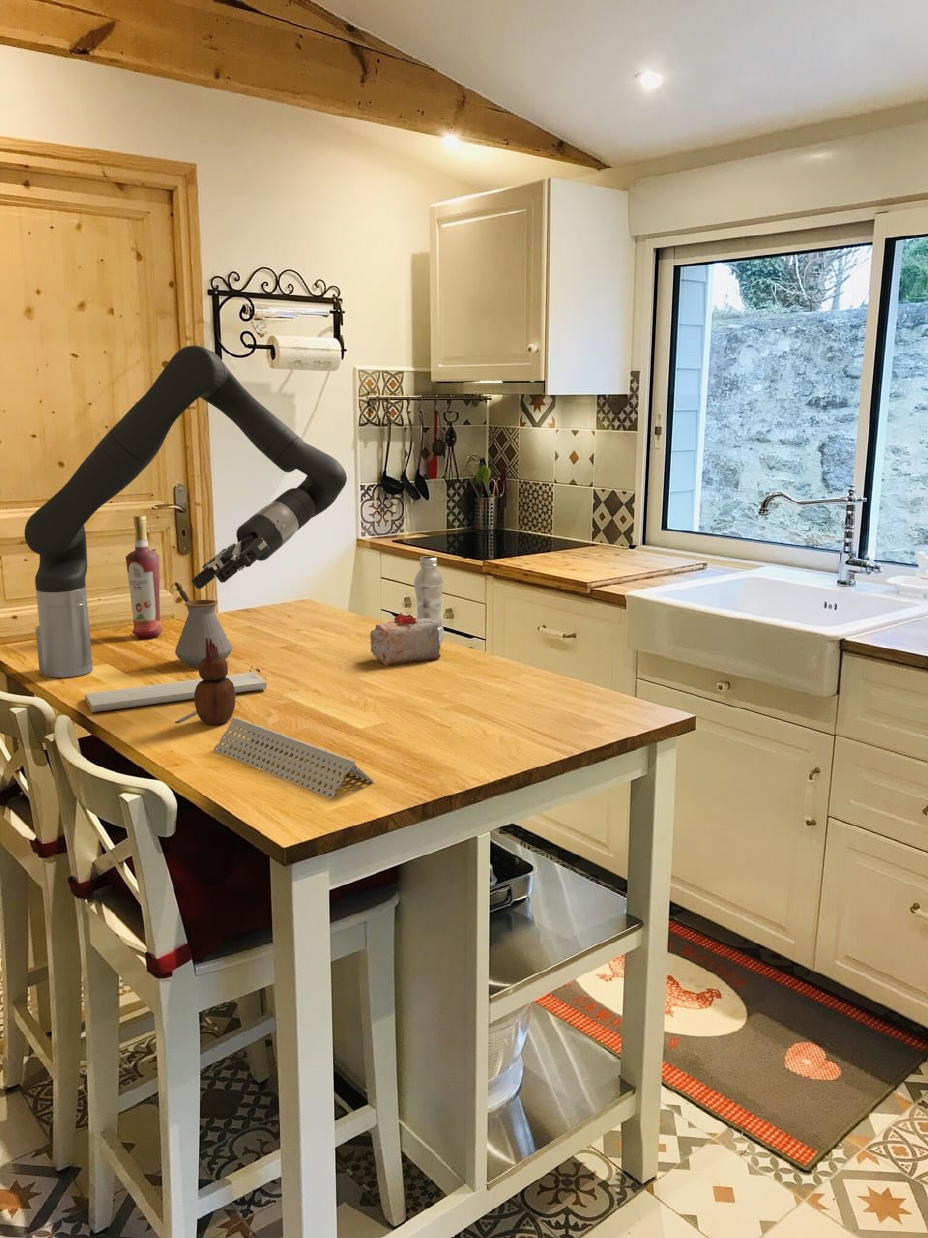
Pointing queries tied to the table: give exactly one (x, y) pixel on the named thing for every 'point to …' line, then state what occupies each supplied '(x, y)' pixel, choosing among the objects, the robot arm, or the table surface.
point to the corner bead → (287, 757)
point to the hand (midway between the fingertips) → (206, 581)
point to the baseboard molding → (164, 692)
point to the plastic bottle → (429, 592)
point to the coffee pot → (200, 631)
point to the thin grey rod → (188, 716)
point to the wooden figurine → (214, 689)
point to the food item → (405, 640)
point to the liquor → (144, 584)
